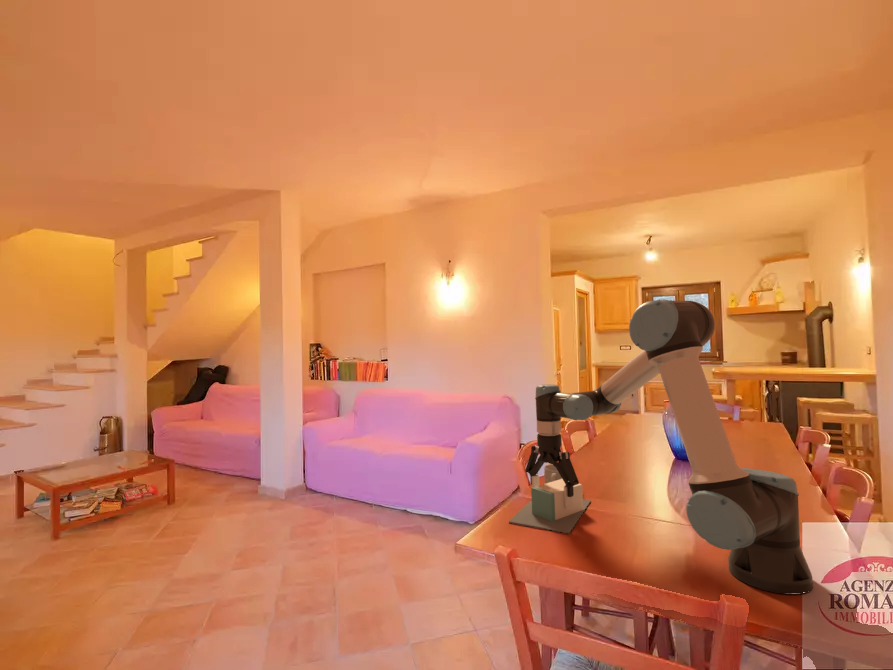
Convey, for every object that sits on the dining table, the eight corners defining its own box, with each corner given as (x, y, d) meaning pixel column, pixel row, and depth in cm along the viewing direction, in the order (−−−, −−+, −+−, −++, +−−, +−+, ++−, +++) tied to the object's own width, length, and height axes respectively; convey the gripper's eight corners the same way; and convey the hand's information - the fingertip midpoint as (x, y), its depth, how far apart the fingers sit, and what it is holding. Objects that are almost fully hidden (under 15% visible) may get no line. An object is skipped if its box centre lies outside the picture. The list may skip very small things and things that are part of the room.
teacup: (552, 483, 169) (551, 462, 169) (580, 488, 162) (579, 466, 162) (535, 493, 158) (534, 470, 158) (563, 499, 151) (562, 475, 151)
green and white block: (583, 509, 139) (551, 521, 131) (563, 503, 146) (532, 513, 138) (582, 484, 140) (550, 494, 131) (562, 478, 146) (531, 487, 138)
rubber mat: (569, 534, 123) (569, 532, 123) (508, 523, 132) (508, 521, 132) (590, 501, 148) (590, 500, 148) (538, 494, 156) (538, 493, 156)
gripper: (589, 437, 133) (592, 509, 132) (529, 426, 153) (531, 488, 152) (572, 441, 128) (575, 515, 128) (513, 429, 148) (515, 493, 148)
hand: (551, 501), depth 140 cm, fingers open, 13 cm apart
